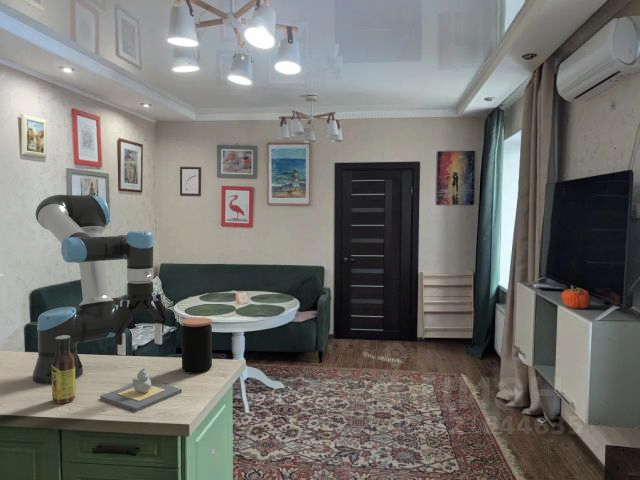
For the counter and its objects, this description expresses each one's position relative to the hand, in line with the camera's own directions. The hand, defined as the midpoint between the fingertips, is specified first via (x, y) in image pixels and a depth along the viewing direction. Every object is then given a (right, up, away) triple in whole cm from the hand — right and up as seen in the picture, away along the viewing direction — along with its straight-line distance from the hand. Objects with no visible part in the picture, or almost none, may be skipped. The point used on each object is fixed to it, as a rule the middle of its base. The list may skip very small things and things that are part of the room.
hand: (140, 348), depth 145 cm
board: (0, -15, +1) cm, 15 cm away
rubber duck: (0, -14, +1) cm, 14 cm away
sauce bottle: (-22, -15, -4) cm, 27 cm away
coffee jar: (+11, -14, +26) cm, 31 cm away
